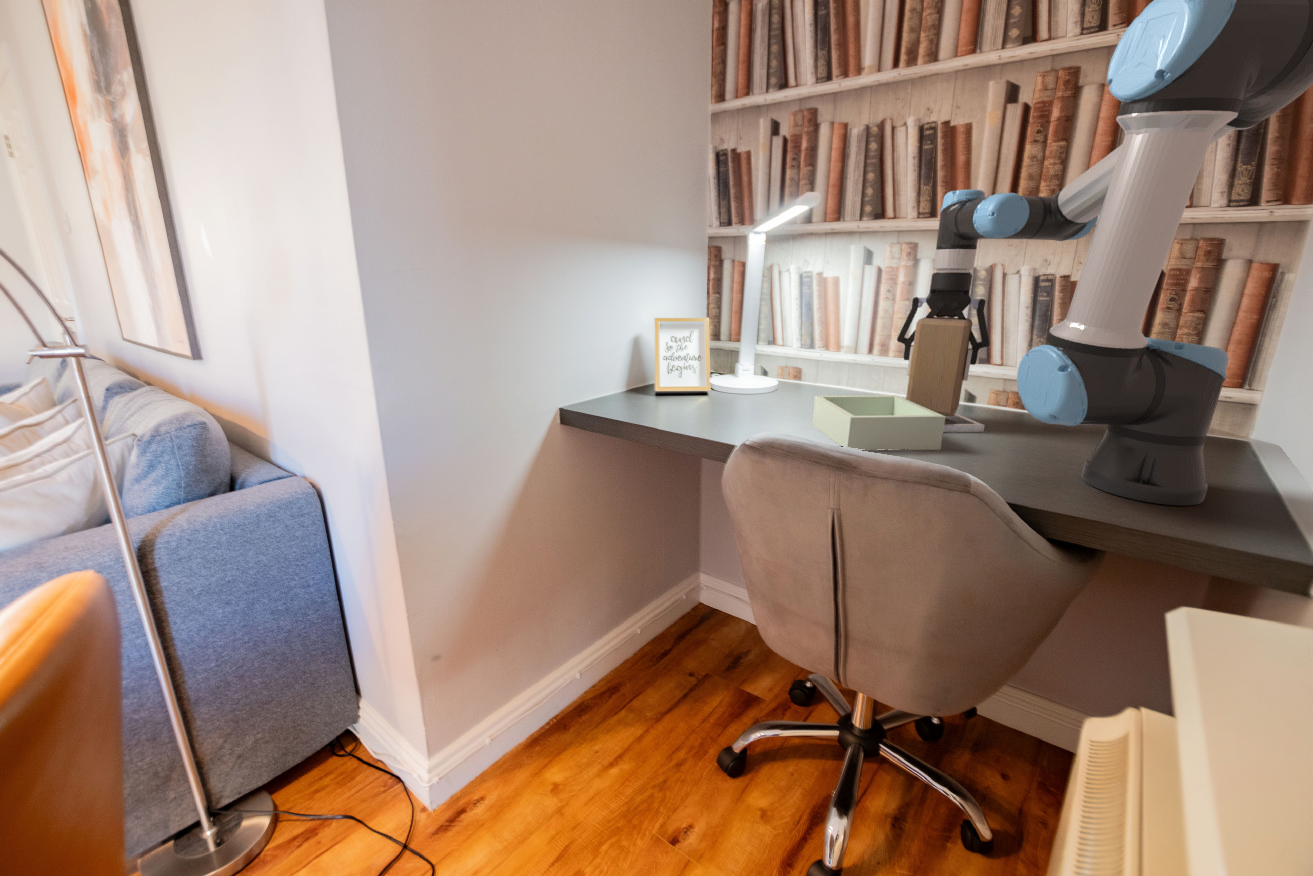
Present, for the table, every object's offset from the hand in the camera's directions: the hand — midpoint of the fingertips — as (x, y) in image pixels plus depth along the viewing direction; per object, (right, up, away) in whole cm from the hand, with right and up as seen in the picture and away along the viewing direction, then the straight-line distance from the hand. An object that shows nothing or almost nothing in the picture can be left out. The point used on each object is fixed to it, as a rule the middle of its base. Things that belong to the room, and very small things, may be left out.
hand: (936, 377), depth 124 cm
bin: (-17, -13, -8) cm, 23 cm away
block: (0, -7, +2) cm, 8 cm away
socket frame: (0, -10, +3) cm, 10 cm away
